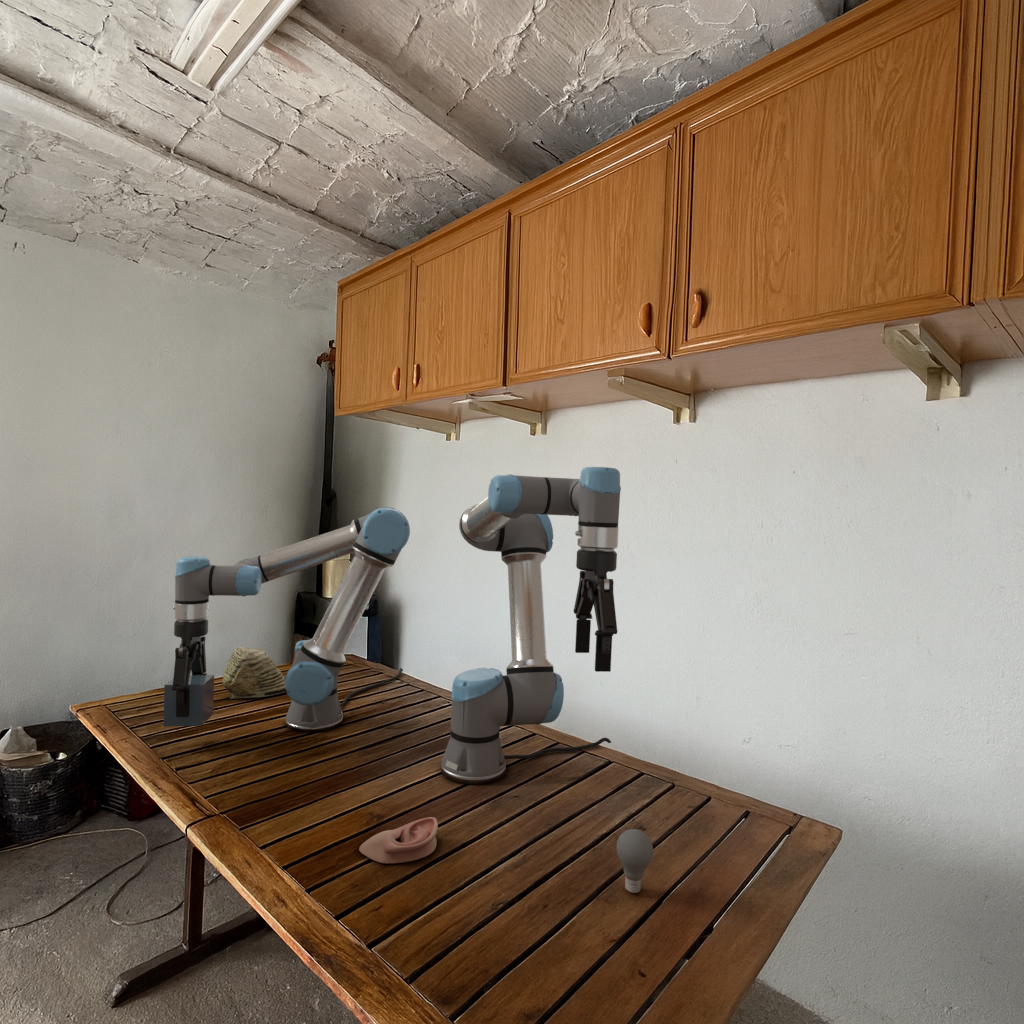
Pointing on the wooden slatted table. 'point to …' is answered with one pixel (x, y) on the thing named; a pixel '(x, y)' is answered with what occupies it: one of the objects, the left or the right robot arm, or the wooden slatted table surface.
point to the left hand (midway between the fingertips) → (189, 709)
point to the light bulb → (634, 857)
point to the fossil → (252, 674)
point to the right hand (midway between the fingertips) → (591, 661)
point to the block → (191, 702)
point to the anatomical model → (403, 842)
